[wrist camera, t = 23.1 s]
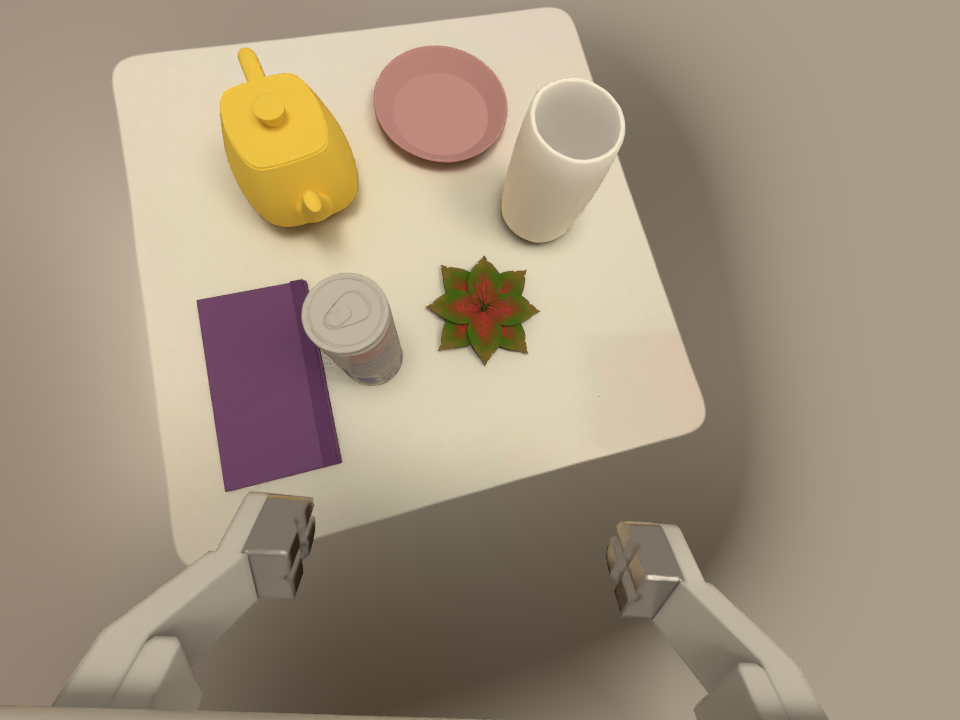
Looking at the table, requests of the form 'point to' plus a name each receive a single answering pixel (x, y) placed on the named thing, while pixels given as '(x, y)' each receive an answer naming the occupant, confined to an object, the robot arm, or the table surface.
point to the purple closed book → (266, 386)
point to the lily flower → (483, 309)
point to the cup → (560, 157)
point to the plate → (440, 104)
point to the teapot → (285, 147)
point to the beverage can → (354, 327)
